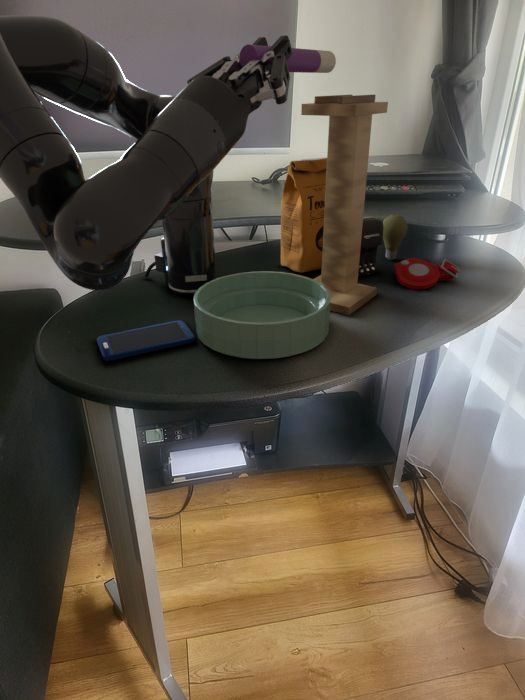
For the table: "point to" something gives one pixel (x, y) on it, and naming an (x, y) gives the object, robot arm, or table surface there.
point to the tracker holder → (423, 273)
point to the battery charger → (370, 245)
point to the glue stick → (293, 59)
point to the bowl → (262, 314)
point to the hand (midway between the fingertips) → (275, 45)
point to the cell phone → (144, 340)
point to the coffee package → (303, 215)
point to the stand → (345, 194)
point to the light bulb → (393, 234)
